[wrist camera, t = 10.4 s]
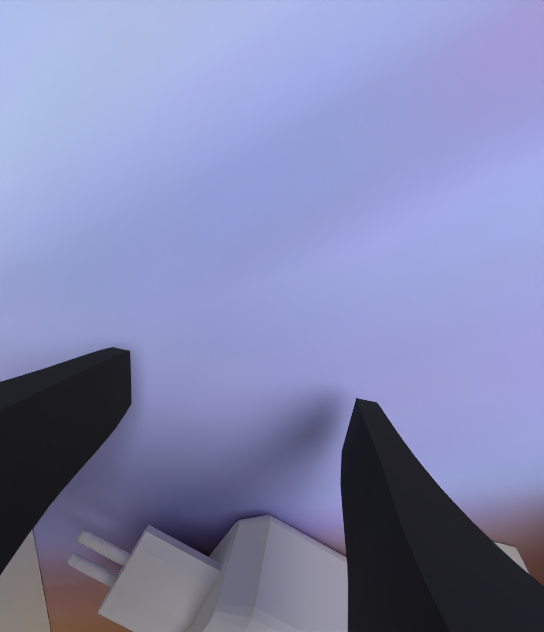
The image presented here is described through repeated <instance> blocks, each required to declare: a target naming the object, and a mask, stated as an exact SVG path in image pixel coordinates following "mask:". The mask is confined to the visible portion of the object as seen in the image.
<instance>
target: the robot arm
mask: <svg viewBox="0 0 544 632" xmlns="http://www.w3.org/2000/svg"><path fill="white" fill-rule="evenodd" d="M130 405H131V367H130V351H128V350H123V349H118V348H114V347H111V348H107V349H103V350H99V351H96V352H93V353H90V354H87V355H84V356H81V357H78V358H75V359H72V360H69V361H66V362H63V363H60V364H57V365H54V366H51V367H48V368H45V369H42V370H38V371H35V372H32V373H28V374H25V375H22V376H18V377H15V378H12V379H9V380H5V381H2V382H0V575H1V574H2V572H3V571H4V569H5V568H6V566H7V565H8V563H9V562H10V561H11V559H12V558H13V556H14V555H15V553H16V552H17V550H18V549H19V547H20V546H21V545H22V543H23V542H24V540H25V539H26V537H27V536H28V535H29V533H30V532H31V530H32V529H33V528H34V526H35V525H36V524H37V522H38V521H39V519H40V518H41V517H42V515H43V514H44V512H45V511H46V510H47V508H48V507H49V506H50V504H51V503H52V502H53V501H54V499H55V498H56V497H57V496H58V494H59V493H60V492H61V491H62V490H63V488H64V487H65V486H66V485H67V484H68V483H69V482H70V480H71V479H72V478H73V477H74V476H75V475H76V474H77V472H78V471H79V470H80V469H81V468H82V467H83V466H84V465H85V463H86V462H87V461H88V460H89V459H90V458H91V457H92V455H93V454H94V453H95V452H96V451H97V450H98V449H99V447H100V446H101V445H102V444H103V443H104V442H105V440H106V439H107V438H108V437H109V436H110V434H111V433H112V432H113V431H114V430H115V428H116V427H117V425H118V424H119V422H120V421H121V419H122V418H123V416H124V415H125V413H126V412H127V410H128V408H129V407H130ZM341 496H342V509H343V521H344V533H345V545H346V557H347V573H348V632H544V586H542V585H541V584H540V583H539V582H538V581H536V580H535V579H534V578H533V577H532V576H531V575H530V574H528V573H527V572H526V571H525V570H524V569H523V568H521V567H520V566H519V565H518V564H517V563H516V562H515V561H513V560H512V559H511V558H510V557H509V556H508V555H507V554H506V553H505V552H504V551H503V550H502V549H501V548H499V547H498V546H497V545H496V544H495V543H494V542H493V541H492V540H491V539H490V538H489V537H488V536H486V535H485V534H484V533H483V532H482V531H481V530H480V529H479V528H478V527H477V526H476V525H475V524H474V523H473V522H472V521H471V520H470V519H469V518H468V517H467V516H466V515H465V513H464V512H463V511H462V510H461V509H460V508H459V507H458V506H457V505H456V504H455V503H454V502H453V501H452V500H451V499H450V498H449V497H448V495H447V494H446V493H445V492H444V491H443V490H442V489H441V488H440V486H439V485H438V484H437V483H436V482H435V481H434V479H433V478H432V477H431V476H430V474H429V473H428V472H427V471H426V470H425V468H424V467H423V466H422V465H421V463H420V462H419V461H418V460H417V458H416V457H415V456H414V454H413V453H412V452H411V450H410V449H409V448H408V446H407V445H406V444H405V442H404V441H403V440H402V438H401V437H400V435H399V434H398V432H397V431H396V430H395V428H394V427H393V425H392V424H391V422H390V421H389V419H388V418H387V416H386V415H385V413H384V412H383V410H382V409H381V407H380V406H379V405H378V403H377V402H372V401H367V400H362V399H358V398H356V401H355V405H354V409H353V412H352V416H351V420H350V423H349V427H348V431H347V434H346V438H345V442H344V445H343V449H342V459H341Z"/></svg>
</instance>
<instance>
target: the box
mask: <svg viewBox="0 0 544 632" xmlns="http://www.w3.org/2000/svg"><path fill="white" fill-rule="evenodd" d="M494 543H495V544H496V545H497V546H498V547H499V548H501V549H502V550H503V551H504V552H505V553H506V554H507V555H508V556H509V557H510V558H511V559H512V560H513V561H515V562H516V563H517V564H518V565H519V566H520V567H521V568H523V569H524V570H525V571H526V572H527V573H528V574H529V572H528V570H527V568H526V566H525V564H524V562H523V560H522V558H521V556H520V554H519V552H518V550H517V548H516V547H513V546H509V545H504V544H500V543H496V542H494ZM0 632H51V630H50V625H49V619H48V613H47V608H46V602H45V597H44V591H43V586H42V580H41V574H40V569H39V563H38V558H37V552H36V547H35V541H34V535H33V530H31V532H30V533H29V535H28V536H27V537H26V539H25V540H24V542H23V543H22V545H21V546H20V547H19V549H18V550H17V552H16V553H15V555H14V556H13V558H12V559H11V561H10V562H9V563H8V565H7V566H6V568H5V569H4V571H3V572H2V574H1V575H0Z"/></svg>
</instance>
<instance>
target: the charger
mask: <svg viewBox="0 0 544 632" xmlns="http://www.w3.org/2000/svg"><path fill="white" fill-rule="evenodd" d="M78 542H79V543H81V544H82V545H84V546H86V547H88V548H90V549H92V550H94V551H96V552H97V553H99V554H101V555H103V556H105V557H107V558H109V559H111V560H112V561H114V562H116V563H118V564H120V565H122V566H123V567H122V569H121V570H120V572H119V574H118V575H116V574H114V573H112V572H111V571H109V570H107V569H105V568H103V567H101V566H99V565H97V564H96V563H94V562H92V561H90V560H88V559H86V558H84V557H82V556H81V555H79V554H77V553H73V554H71V555H70V557H69V558H68V560H67V564H68V565H69V566H71V567H73V568H75V569H77V570H79V571H81V572H82V573H84V574H86V575H88V576H90V577H92V578H94V579H96V580H98V581H99V582H101V583H103V584H105V585H107V586H109V587H111V588H110V590H109V591H108V593H107V595H106V597H105V598H104V600H103V602H102V604H101V606H100V608H99V610H98V613H99V614H100V615H102V616H104V617H106V618H108V619H110V620H112V621H114V622H116V623H118V624H119V625H121V626H123V627H125V628H127V629H129V630H131V631H133V632H348V573H347V557H345V556H343V555H341V554H340V553H338V552H336V551H334V550H332V549H331V548H329V547H327V546H325V545H323V544H321V543H320V542H318V541H316V540H314V539H312V538H311V537H309V536H307V535H305V534H303V533H302V532H300V531H298V530H296V529H294V528H293V527H291V526H289V525H287V524H285V523H284V522H282V521H280V520H278V519H276V518H274V517H273V516H271V515H269V514H268V515H263V516H258V517H253V518H247V519H242V520H238V521H237V522H236V523H235V524H234V525H233V526H232V528H231V529H230V530H229V531H228V533H227V534H226V535H225V536H224V538H223V539H222V540H221V542H220V543H219V544H218V545H217V547H216V548H215V549H214V550H213V552H212V553H211V554H210V556H209V557H207V556H206V555H204V554H202V553H200V552H198V551H196V550H195V549H193V548H191V547H189V546H187V545H185V544H184V543H182V542H180V541H178V540H176V539H174V538H172V537H171V536H169V535H167V534H165V533H163V532H161V531H160V530H158V529H156V528H154V527H152V526H150V525H148V526H147V527H146V529H145V530H144V532H143V534H142V535H141V537H140V538H139V540H138V542H137V543H136V545H135V547H134V548H133V550H132V552H131V553H128V552H126V551H124V550H122V549H120V548H119V547H117V546H115V545H113V544H111V543H109V542H107V541H106V540H104V539H102V538H100V537H98V536H96V535H94V534H93V533H91V532H89V531H87V530H85V531H83V532H82V533H81V534H80V535H79V537H78Z"/></svg>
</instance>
